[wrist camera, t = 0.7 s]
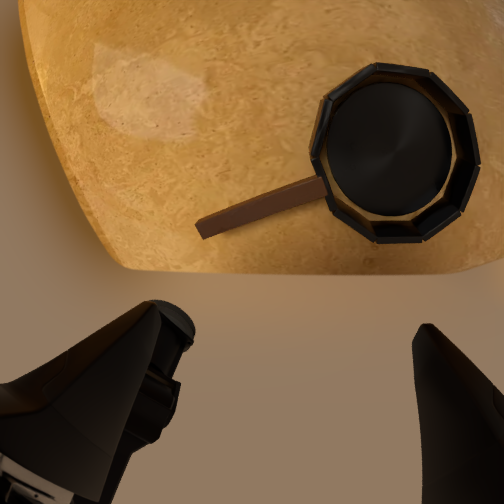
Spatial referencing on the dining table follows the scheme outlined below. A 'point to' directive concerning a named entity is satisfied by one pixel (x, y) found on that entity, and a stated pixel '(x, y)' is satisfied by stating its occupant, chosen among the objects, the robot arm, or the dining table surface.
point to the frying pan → (380, 160)
